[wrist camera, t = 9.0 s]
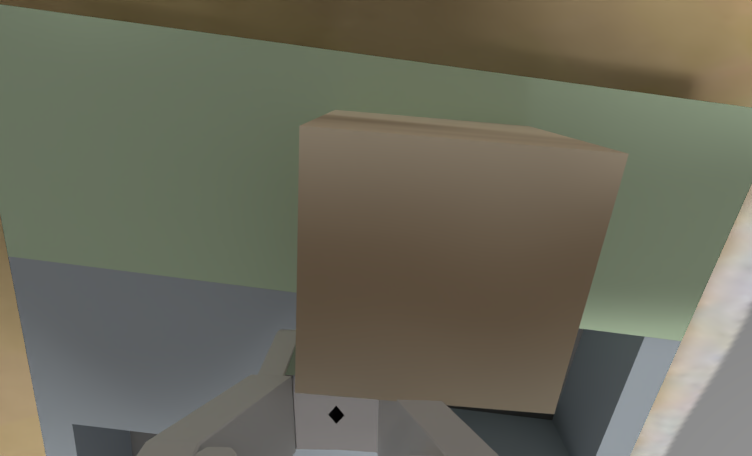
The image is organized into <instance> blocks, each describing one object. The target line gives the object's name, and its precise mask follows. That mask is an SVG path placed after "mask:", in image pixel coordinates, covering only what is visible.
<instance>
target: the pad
mask: <svg viewBox="0 0 752 456" xmlns="http://www.w3.org/2000/svg"><path fill="white" fill-rule="evenodd" d="M334 110H345V111H357V112H369V113H381V114H392V115H404V116H416V117H428V118H440V119H451V120H463V121H475V122H487V123H498V124H510V125H522V126H531V127H534V128H538V129H541V130H545V131H549V132H552V133H556V134H559V135H563V136H567V137H570V138H574V139H577V140H581V141H585V142H588V143H592V144H595V145H599V146H603V147H606V148H610V149H614V150H617V151H621V152H624V153H628V154H629V155H628V159H627V162H626V166H625V169H624V173H623V176H622V180H621V183H620V187H619V190H618V194H617V197H616V201H615V204H614V208H613V211H612V215H611V218H610V222H609V225H608V229H607V232H606V236H605V239H604V243H603V246H602V249H601V253H600V256H599V260H598V263H597V267H596V270H595V274H594V277H593V281H592V284H591V288H590V291H589V295H588V298H587V302H586V305H585V309H584V312H583V316H582V319H581V323H580V326H579V328H580V329H588V330H596V331H604V332H612V333H620V334H628V335H636V336H644V337H652V338H660V339H668V340H676V341H682V338H683V336H684V334H685V332H686V329H687V327H688V325H689V323H690V320H691V318H692V316H693V314H694V312H695V309H696V307H697V305H698V303H699V300H700V298H701V296H702V294H703V291H704V289H705V287H706V285H707V283H708V280H709V278H710V276H711V274H712V271H713V269H714V267H715V265H716V262H717V260H718V258H719V256H720V253H721V251H722V249H723V247H724V245H725V242H726V240H727V238H728V236H729V233H730V231H731V229H732V227H733V224H734V222H735V220H736V218H737V216H738V213H739V211H740V209H741V207H742V204H743V202H744V200H745V198H746V195H747V193H748V191H749V189H750V186H751V184H752V108H750V107H743V106H735V105H728V104H721V103H714V102H706V101H699V100H692V99H685V98H677V97H670V96H663V95H655V94H648V93H641V92H634V91H626V90H619V89H612V88H605V87H597V86H590V85H583V84H576V83H568V82H561V81H554V80H546V79H539V78H532V77H525V76H517V75H510V74H503V73H496V72H488V71H481V70H474V69H467V68H459V67H452V66H445V65H437V64H430V63H423V62H416V61H408V60H401V59H394V58H387V57H379V56H372V55H365V54H357V53H350V52H343V51H336V50H328V49H321V48H314V47H307V46H299V45H292V44H285V43H278V42H270V41H263V40H256V39H248V38H241V37H234V36H227V35H219V34H212V33H205V32H198V31H190V30H183V29H176V28H168V27H161V26H154V25H147V24H139V23H132V22H125V21H118V20H110V19H103V18H96V17H89V16H81V15H74V14H67V13H59V12H52V11H45V10H38V9H30V8H23V7H16V6H9V5H1V4H0V216H1V221H2V226H3V232H4V237H5V242H6V247H7V253H8V256H9V257H17V258H25V259H33V260H41V261H49V262H57V263H65V264H73V265H81V266H89V267H97V268H105V269H112V270H120V271H128V272H136V273H144V274H152V275H160V276H168V277H176V278H184V279H192V280H200V281H208V282H216V283H223V284H231V285H239V286H247V287H255V288H263V289H271V290H279V291H287V292H295V293H297V236H298V177H299V126H300V125H302V124H305V123H307V122H309V121H311V120H313V119H316V118H318V117H320V116H322V115H325V114H327V113H329V112H331V111H334Z"/></svg>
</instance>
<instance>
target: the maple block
mask: <svg viewBox="0 0 752 456" xmlns="http://www.w3.org/2000/svg"><path fill="white" fill-rule="evenodd" d="M628 155H629V154H628V153H624V152H621V151H617V150H614V149H610V148H606V147H603V146H599V145H595V144H592V143H588V142H585V141H581V140H577V139H574V138H570V137H567V136H563V135H559V134H556V133H552V132H549V131H545V130H541V129H538V128H534V127H531V126H522V125H510V124H498V123H487V122H475V121H463V120H451V119H440V118H428V117H416V116H404V115H392V114H381V113H369V112H357V111H345V110H334V111H331V112H329V113H327V114H325V115H322V116H320V117H318V118H316V119H313V120H311V121H309V122H307V123H305V124H302V125H300V126H299V177H298V236H297V295H296V355H295V393H304V394H316V395H328V396H340V397H352V398H364V399H376V400H388V401H397V400H431V401H443V402H444V403H445V404H446V405H449V406H461V407H473V408H485V409H497V410H509V411H521V412H534V413H546V414H555V410H556V407H557V403H558V400H559V396H560V393H561V389H562V386H563V382H564V379H565V375H566V372H567V368H568V365H569V361H570V358H571V354H572V351H573V347H574V344H575V340H576V337H577V333H578V330H579V326H580V323H581V319H582V316H583V312H584V309H585V305H586V302H587V298H588V295H589V291H590V288H591V284H592V281H593V277H594V274H595V270H596V267H597V263H598V260H599V256H600V253H601V249H602V246H603V243H604V239H605V236H606V232H607V229H608V225H609V222H610V218H611V215H612V211H613V208H614V204H615V201H616V197H617V194H618V190H619V187H620V183H621V180H622V176H623V173H624V169H625V166H626V162H627V159H628Z"/></svg>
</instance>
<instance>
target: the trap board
mask: <svg viewBox="0 0 752 456" xmlns="http://www.w3.org/2000/svg"><path fill="white" fill-rule="evenodd" d="M8 258H9V263H10V269H11V274H12V279H13V284H14V290H15V295H16V300H17V305H18V311H19V316H20V321H21V326H22V332H23V337H24V342H25V347H26V353H27V358H28V363H29V368H30V374H31V379H32V384H33V389H34V395H35V400H36V405H37V410H38V416H39V421H40V426H41V431H42V437H43V442H44V447H45V452H46V456H137V454H138V453H139V451H140V450H141V448H142V447H143V445H144V444H145V442H146V441H148V440H150V439H151V438H153V437H154V436H156V435H157V434H159V433H160V432H162V431H164V430H165V429H167V428H168V427H170V426H171V425H173V424H175V423H176V422H178V421H179V420H181V419H182V418H184V417H185V416H187V415H189V414H190V413H192V412H193V411H195V410H196V409H198V408H200V407H201V406H203V405H204V404H206V403H207V402H209V401H210V400H212V399H214V398H215V397H217V396H218V395H220V394H221V393H223V392H224V391H226V390H228V389H229V388H231V387H232V386H234V385H235V384H237V383H239V382H240V381H242V380H243V379H245V378H246V377H248V376H249V375H258V372H259V370H260V368H261V366H262V364H263V361H264V359H265V357H266V355H267V353H268V350H269V348H270V346H271V344H272V342H273V340H274V337H275V335H276V333H277V332H278V331H279V330H280V329H290V330H296V295H297V293H295V292H287V291H279V290H271V289H263V288H255V287H247V286H239V285H231V284H223V283H216V282H208V281H200V280H192V279H184V278H176V277H168V276H160V275H152V274H144V273H136V272H128V271H120V270H112V269H105V268H97V267H89V266H81V265H73V264H65V263H57V262H49V261H41V260H33V259H25V258H17V257H9V256H8ZM680 343H681V341H676V340H668V339H660V338H652V337H644V336H636V335H628V334H620V333H612V332H604V331H596V330H588V329H580V328H579V330H578V333H577V337H576V340H575V344H574V347H573V351H572V354H571V358H570V361H569V365H568V368H567V372H566V375H565V379H564V382H563V386H562V389H561V393H560V396H559V400H558V403H557V407H556V410H555V414H546V413H534V412H521V411H509V410H497V409H485V408H473V407H461V406H449V405H447V406H448V407H449V408H450V409H451V410H452V411H453V412H454V413H455V414H456V415H457V416H458V417H459V418H460V419H461V420H462V421H463V422H465V423H466V424H467V425H468V426H469V427H470V428H471V429H472V430H473V431H474V432H475V433H476V434H477V435H478V436H479V437H480V438H481V439H482V440H483V441H484V442H485V443H486V444H487V445H488V446H489V447H490V448H491V449H493V450H494V451H495V452H496V453H497V454H498V455H499V456H630V454H631V452H632V450H633V448H634V445H635V443H636V441H637V439H638V436H639V434H640V432H641V430H642V428H643V425H644V423H645V421H646V419H647V416H648V414H649V412H650V410H651V407H652V405H653V403H654V401H655V398H656V396H657V394H658V392H659V390H660V387H661V385H662V383H663V381H664V378H665V376H666V374H667V372H668V369H669V367H670V365H671V363H672V361H673V358H674V356H675V354H676V352H677V349H678V347H679V345H680ZM292 456H378V455H377V453H376V452H361V451H347V450H310V449H296V452H295V453H294V454H293V455H292Z"/></svg>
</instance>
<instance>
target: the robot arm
mask: <svg viewBox="0 0 752 456" xmlns="http://www.w3.org/2000/svg"><path fill="white" fill-rule="evenodd" d="M295 355H296V330H290V329H280V330H279V331H278V332H277V333H276V335H275V337H274V340H273V342H272V344H271V346H270V348H269V350H268V353H267V355H266V357H265V359H264V361H263V364H262V366H261V368H260V370H259V372H258V375H249V376H248V377H246V378H245V379H243V380H242V381H240V382H239V383H237V384H235V385H234V386H232V387H231V388H229V389H228V390H226V391H224V392H223V393H221V394H220V395H218V396H217V397H215V398H214V399H212V400H210V401H209V402H207V403H206V404H204V405H203V406H201V407H200V408H198V409H196V410H195V411H193V412H192V413H190V414H189V415H187V416H185V417H184V418H182V419H181V420H179V421H178V422H176V423H175V424H173V425H171V426H170V427H168V428H167V429H165V430H164V431H162V432H160V433H159V434H157V435H156V436H154V437H153V438H151V439H150V440H148V441H146V442H145V444H144V445H143V447H142V448H141V450H140V451H139V453H138V454H137V456H292V455H293V454H294V453H295V452H296V449H310V450H347V451H361V452H376V453H377V455H378V456H499V455H498V454H497V453H496V452H495V451H494V450H493V449H491V448H490V447H489V446H488V445H487V444H486V443H485V442H484V441H483V440H482V439H481V438H480V437H479V436H478V435H477V434H476V433H475V432H474V431H473V430H472V429H471V428H470V427H469V426H468V425H467V424H466V423H465V422H463V421H462V420H461V419H460V418H459V417H458V416H457V415H456V414H455V413H454V412H453V411H452V410H451V409H450V408H449V407H448V406H447V405H446V404H445V403H444V402H443V401H431V400H397V401H388V400H376V399H364V398H352V397H340V396H328V395H316V394H304V393H295Z"/></svg>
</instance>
